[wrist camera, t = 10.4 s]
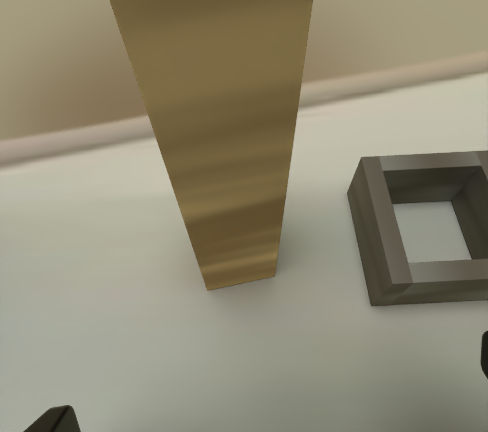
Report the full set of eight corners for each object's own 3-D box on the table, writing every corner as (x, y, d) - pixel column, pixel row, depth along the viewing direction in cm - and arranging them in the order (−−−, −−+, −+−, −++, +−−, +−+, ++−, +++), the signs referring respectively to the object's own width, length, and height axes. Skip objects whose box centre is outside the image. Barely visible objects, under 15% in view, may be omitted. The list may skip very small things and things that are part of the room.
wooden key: (274, 276, 18) (337, -179, 5) (207, 290, 18) (60, -147, 4) (259, 217, 20) (270, -253, 6) (196, 229, 19) (63, -233, 6)
